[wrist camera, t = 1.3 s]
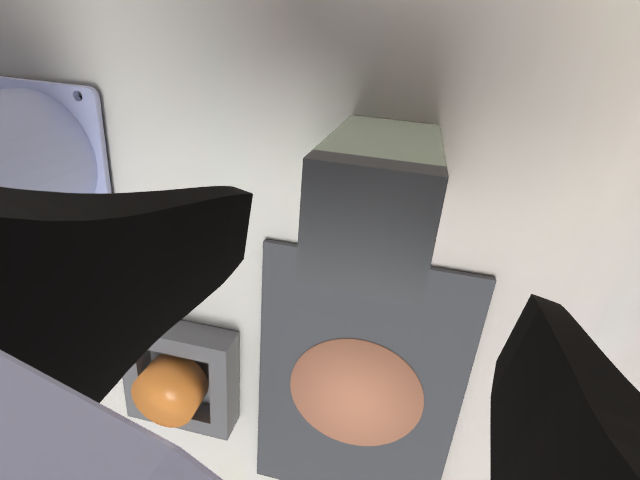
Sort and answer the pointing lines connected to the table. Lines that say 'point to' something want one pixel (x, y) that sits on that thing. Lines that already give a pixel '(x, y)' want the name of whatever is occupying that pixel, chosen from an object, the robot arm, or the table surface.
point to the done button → (170, 390)
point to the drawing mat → (362, 374)
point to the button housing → (218, 365)
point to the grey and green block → (372, 208)
